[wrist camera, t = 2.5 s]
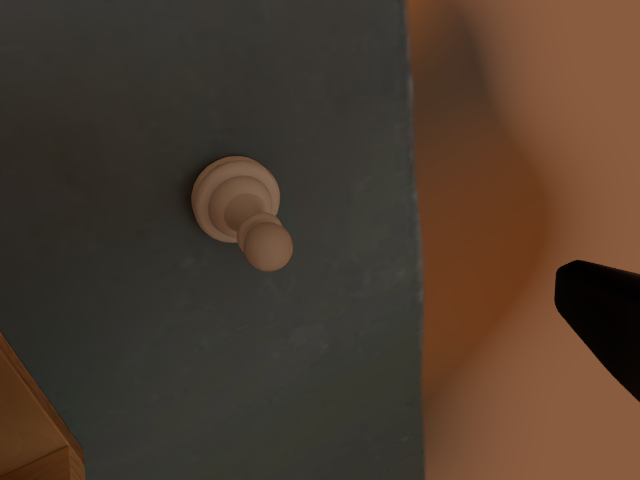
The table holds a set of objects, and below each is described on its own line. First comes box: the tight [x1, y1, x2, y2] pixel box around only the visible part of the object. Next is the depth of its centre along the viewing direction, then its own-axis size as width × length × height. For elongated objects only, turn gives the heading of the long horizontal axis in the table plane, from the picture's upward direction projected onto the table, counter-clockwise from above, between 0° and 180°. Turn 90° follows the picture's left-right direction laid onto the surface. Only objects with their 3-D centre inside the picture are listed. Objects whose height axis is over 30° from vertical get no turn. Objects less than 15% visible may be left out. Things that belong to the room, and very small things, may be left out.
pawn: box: [191, 156, 293, 272], centre depth 16 cm, size 3×3×4 cm
